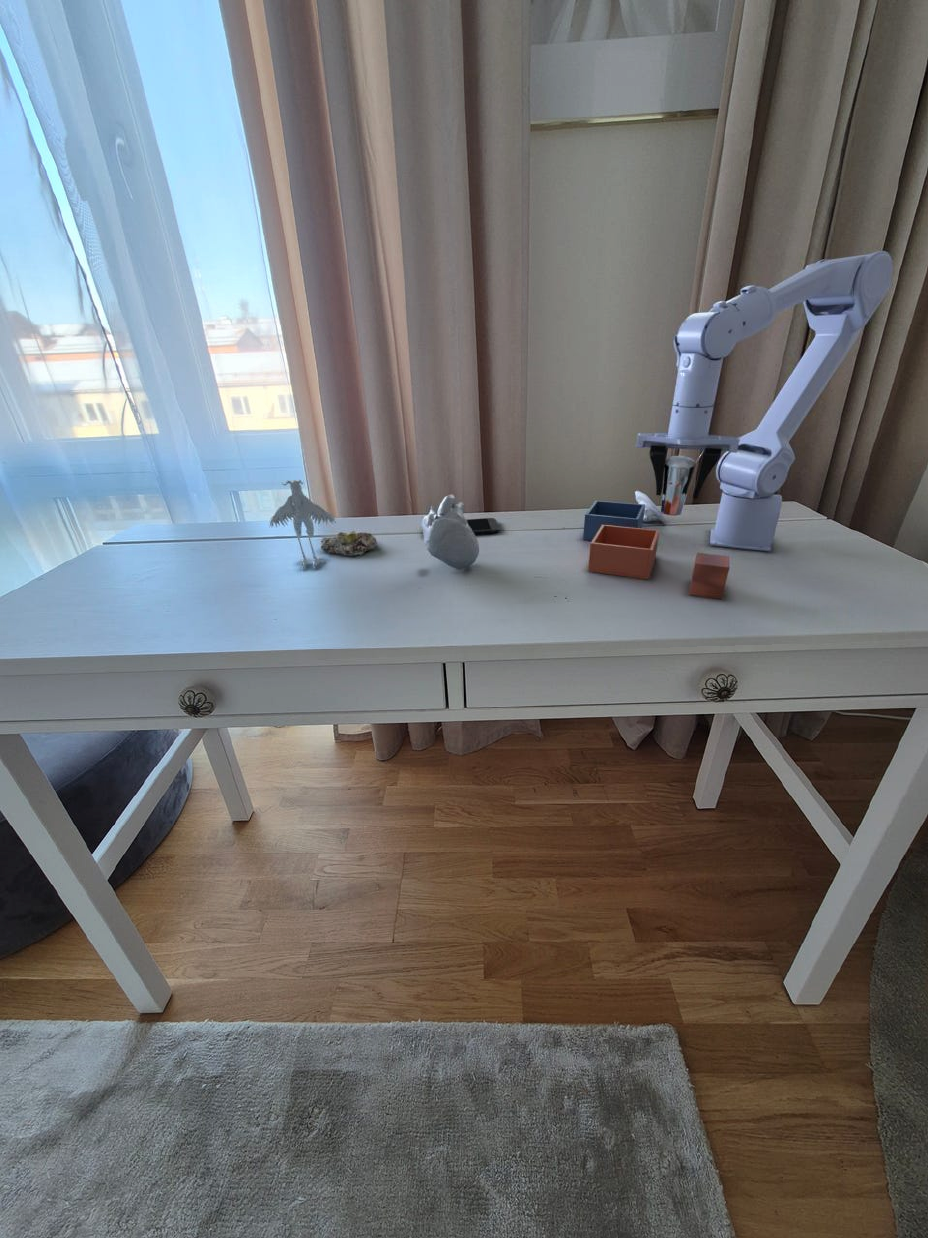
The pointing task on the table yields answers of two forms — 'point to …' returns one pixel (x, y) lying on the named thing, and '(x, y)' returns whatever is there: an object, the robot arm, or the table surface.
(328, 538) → the mineral rock
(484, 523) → the smartphone
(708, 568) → the block
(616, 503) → the slate bin
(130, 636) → the table surface
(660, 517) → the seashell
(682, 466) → the milkshake
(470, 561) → the heart
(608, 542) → the terracotta bin
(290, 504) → the figurine
